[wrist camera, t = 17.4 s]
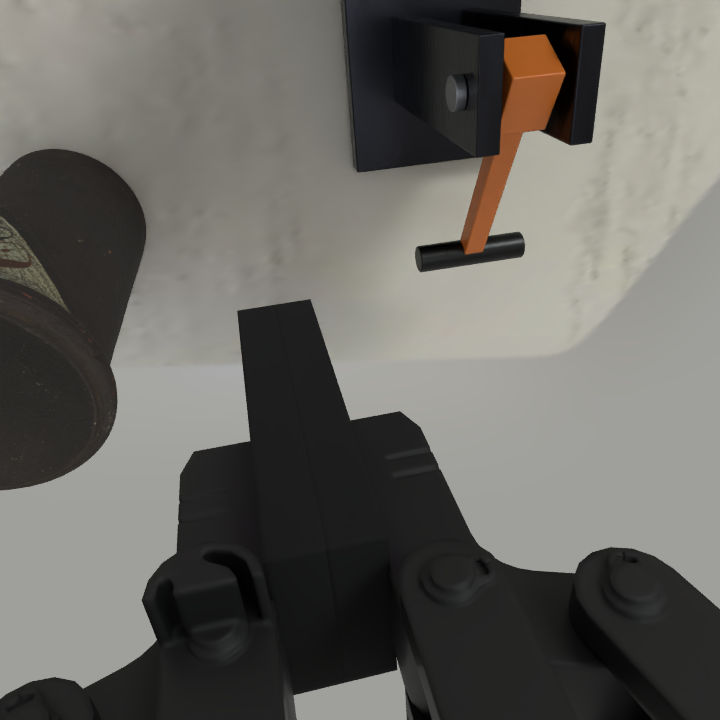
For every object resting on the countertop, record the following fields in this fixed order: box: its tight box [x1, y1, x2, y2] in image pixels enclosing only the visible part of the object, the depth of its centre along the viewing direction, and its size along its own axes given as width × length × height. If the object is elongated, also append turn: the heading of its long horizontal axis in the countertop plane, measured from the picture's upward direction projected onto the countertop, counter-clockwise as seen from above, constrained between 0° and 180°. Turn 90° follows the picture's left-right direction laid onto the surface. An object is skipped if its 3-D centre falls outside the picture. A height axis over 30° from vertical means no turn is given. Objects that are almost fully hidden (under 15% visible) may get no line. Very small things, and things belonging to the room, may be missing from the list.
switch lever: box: [415, 34, 566, 272], centre depth 31 cm, size 13×6×2 cm
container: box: [0, 149, 146, 490], centre depth 29 cm, size 9×9×20 cm
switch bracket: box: [341, 0, 606, 173], centre depth 31 cm, size 12×10×15 cm
